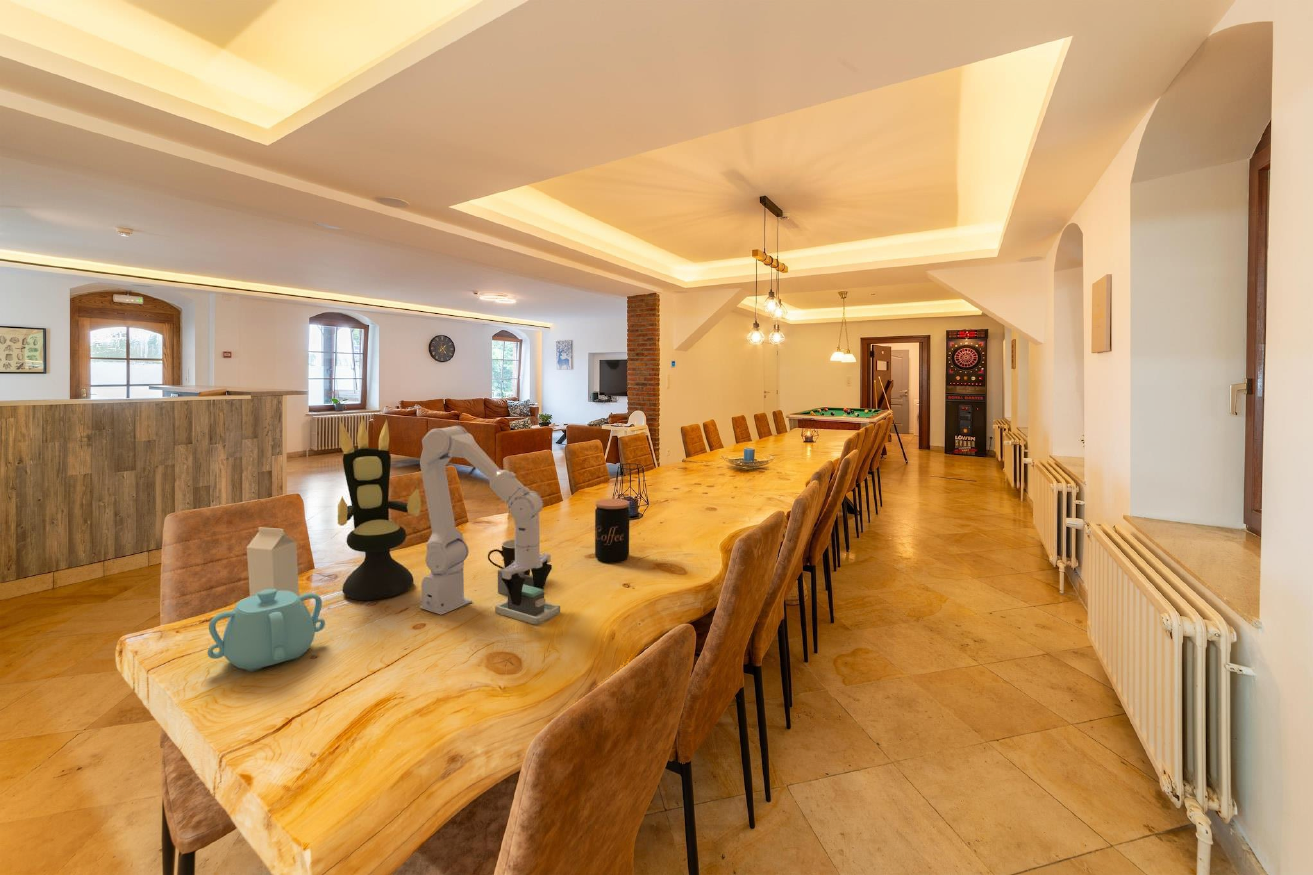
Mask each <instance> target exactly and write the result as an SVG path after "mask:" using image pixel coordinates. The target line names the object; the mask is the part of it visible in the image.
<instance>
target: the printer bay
mask: <svg viewBox="0 0 1313 875" xmlns="http://www.w3.org/2000/svg"><path fill="white" fill-rule="evenodd" d="M506 568H507V567H506ZM503 569H505V567H504V568H503ZM503 569H501V568H500V569H499V570H497V593H498V594H501V595H503V596H507V597H508V592H507V591H508V589H507V587H506V585H505V583H504V582H503V581H502V570H503ZM518 576H520V577H521V578H525V581H524V585H528V586H532V587H533V576H532V575H530V576H529V575H524V572H522V573H519V574H518Z"/></svg>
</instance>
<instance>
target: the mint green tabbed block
mask: <svg viewBox="0 0 1313 875" xmlns="http://www.w3.org/2000/svg"><path fill="white" fill-rule="evenodd" d="M507 592H508V596H507V601H508V609H511V610H514V611H518V612H521V613H524V614H528V615H531V616H536V615H538V614H540V613H542V612H544V604H545V602H546V598H545V592H544V590H543V589H540V588H536V587H532V586H528V585H524V584H523V588H522V598H521V605H519V606H517V605H513V604H512V601H511V597H510V594H509V591H507Z"/></svg>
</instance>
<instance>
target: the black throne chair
mask: <svg viewBox="0 0 1313 875" xmlns="http://www.w3.org/2000/svg"><path fill="white" fill-rule="evenodd" d="M359 424H360V425H359V428H358V432H357V435H356V436H357V438H356V442H357V447H358V448H357V449H356V448H354V444H353V440H352V437H351V436H350V434H349V432H348V431H347V429H346V427H345V425H344V424H343V423H342V422H341V421H340V422H339V437H338V439H339V440H338V441H339V446H340V448H341V450H342V453H343V457H342V464H343V465H342V466H343V472H344V476H345V481H346V484H347V489H348V494H349V498H350V503H351V505H348V503H346V501H345V499H344V497H343V495H342V496H341V498H340V501H339V502H338V504H337V524H338V525H339V526H341V527H342V526H345V525H346V524H347V523H348V521H350V520H351V519H352V517H353V527H354V528H353V530H351V531H350V532H349V533H348V534H347V537H346V543H347V544H346V545H347V546H348V547H349V548H350V549H351V550H353V551H356V552H361V553H364V555H365V556H364V558H363V559H364V560H363V561H362V563H361V564H359V565H358V566H357V568H355V569H354V570H353V571H352V572H351V573H350V574H349V575H348V576H347V578H346V580H345V581H344V582H343V585H342V594H344V595H345V597H347V598H349V599H352V600H357V601H375V600H376V601H377V600H382V599H388V598H391V597H392V598H393V597H395V596H398V595H401V594H403V593H404V592H407V591H408V590H409V589H410V588H411V587H412V585H413V584H414V581H415V580H414V577H413V574H412V573H411V571H410V569H408V568H407V567H405V566H404V565H403V564H401V563H399V562H398V561H397V560H395V558H393V557H392V555H391V551H390V550H392V549H395V548H397V547H399V546H401V545H403V543H404V542H405V540H406V538H407V532H406V529H405V528H404V527H402V526H401V525H399V524H398V523H396V522H394V521H392V520H390V510H394V511H398V512H402V513H407V514H409V515H411V516H417V517H418V516H420V511H421V506H422V503H421V502H422V500H421V495H420V491H419V487H418V488H416V489H415V491H413V492H412V493H411V495H410V496H409V497H408V500H407V502H403V501H400V500H399V501H398V500H390V498H389V495H390V494H389V493H390V492H389V491H390V479H391V478H390V475H391V465H392V464H391V461H392V460H391V459H392V458H391V457H392V456H391V454H390V451H389V450H388V449H389V445H390V444H389V443H390V432H389V425H388V424H389V422H388V419H387V418H386V419H385V422H384V424H383V427H382V429H381V431H380V434H379V438H378V448H373V447H371V448H370V447H369V434H368V432H367V427H366V424H365V420H364V418H363V417H361V421H360V423H359Z"/></svg>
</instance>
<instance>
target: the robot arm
mask: <svg viewBox="0 0 1313 875" xmlns="http://www.w3.org/2000/svg"><path fill="white" fill-rule="evenodd" d="M421 444H422V451H421V455H420V460H419V466H420V473H421V477H422V485H423V489H424V495H425V500H426V506H427V512H428V518H429V523H430V530H431V535H430V537H429V539H428V541H427V542H426V554H425V564H426V567H427V568H428V569H429V570H430V573H429V574H428V575H426V576H425V577H424V578H423V579H422V581H421V604H420V606H419V608H420V609H422V610H425V611H429V612H430V613H434V614H438V615H440V616H441V615H444V614H446V613H449V612H452V611H453V610H456V609H458V608H461V607H463V606H465V605H467V604H470V603H473V599H470V598H467V597H465V584H464V582H465V581H464V580H465V579H464V573H465V572H464V565H465V560H467V558H468V556H469V553H470V552H469V547H468V546H469V545H468V544H467V543H466V541H465V539H464V536H463V533H462V532H461V530H459V529H458V528H456V522H455V516H454V511H453V506H452V501H451V494H450V488H449V481H448V476H447V470H446V466H447V464H448V463H449V462H450V460H452V458H462V459H465V460H466V461H467V462H468V463H470V464H471V466H473V467H474V468H475V469H476V470H478V471H479V472H480V473H481V474H483V476H485V477H486V478H487V479H488V480H489V488H490V489H491V490H492V491H493V492H494V493H495V495H497V496H498V497H499V498H500V499H501V500H502V501H503V502H504V503H505V505H507V506H508V507H509V513H510V515H511V517H512V518H513V520H514V521H513V522H514V539H515V562H513V563H512V564H511V565H509V566H508V567H507V568H505V567H504V568H505V569H503V570H502V581H503V582H504V583H505V585H506V587H507V589H508V591H509V594H510V597H511V601H512V604H513V605H517V606H519V605H521V598H522V588H523V584H524V581H525V578H521V577H520V576H518V574H519V573H522V572H524V571H527V570H529V569H530V573H531V574H532V575H531V576H533V587H536V588H540V589H543V591H544V589H545V586H546V582H547V579H548V577H549V574H550V573H551V571H552V570H553V565H552V564H549V563H551V561H552V559H551V558H552V556H551V555H552V554H550V553H546V552H544V553H541V554H540V512H542V510H543V507H544V501H543V499H542V497H541V495H540V494H539V493H538V492H537V491H534V490H530V488H529V487H528V486H527V487H526V486H525V485H524V484H523V483H522V482H521V481H519V479H517V477H516V476H517V475H516V473H515V472H513V471H509V470H507V469H500V468H499V467H498V465H496V463H495V462H494V461H493V459H492V458H490V457H489V455H488V454H487V453H486V452H485V451H484V450H483V449H482V448H481V447H480V446H479V445H478V443H477V442H476V440H475V439H474V436H473V435H472V434H471V433H470V432H468V431H467V429H465V427H463V426H461V425H452V426H449V427H447V426H446V427H443V428H442V427H441V428H432V429H431V430H429V431H428V432H426V434H425V435H424V436H423V438H422V439H421Z"/></svg>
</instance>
